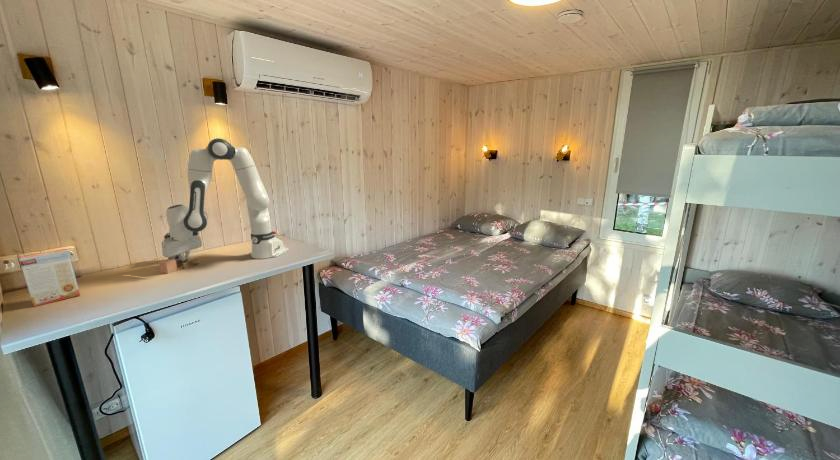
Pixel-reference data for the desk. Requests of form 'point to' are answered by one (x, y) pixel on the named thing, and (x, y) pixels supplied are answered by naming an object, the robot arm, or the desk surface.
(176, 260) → the coffee box
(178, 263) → the chute
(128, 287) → the desk surface
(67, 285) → the cracker box
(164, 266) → the block
